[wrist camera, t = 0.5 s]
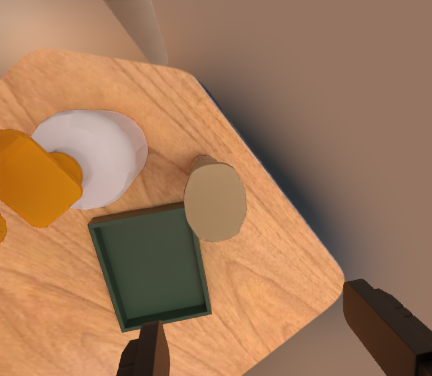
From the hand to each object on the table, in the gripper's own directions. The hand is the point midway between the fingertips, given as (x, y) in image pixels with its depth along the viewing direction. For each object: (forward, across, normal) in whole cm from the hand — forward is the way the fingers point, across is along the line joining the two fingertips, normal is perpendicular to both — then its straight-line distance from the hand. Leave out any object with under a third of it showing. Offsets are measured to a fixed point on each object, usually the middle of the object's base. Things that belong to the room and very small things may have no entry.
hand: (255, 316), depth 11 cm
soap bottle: (+26, +11, -5) cm, 28 cm away
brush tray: (+25, +9, +12) cm, 29 cm away
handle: (+25, 0, -1) cm, 25 cm away
